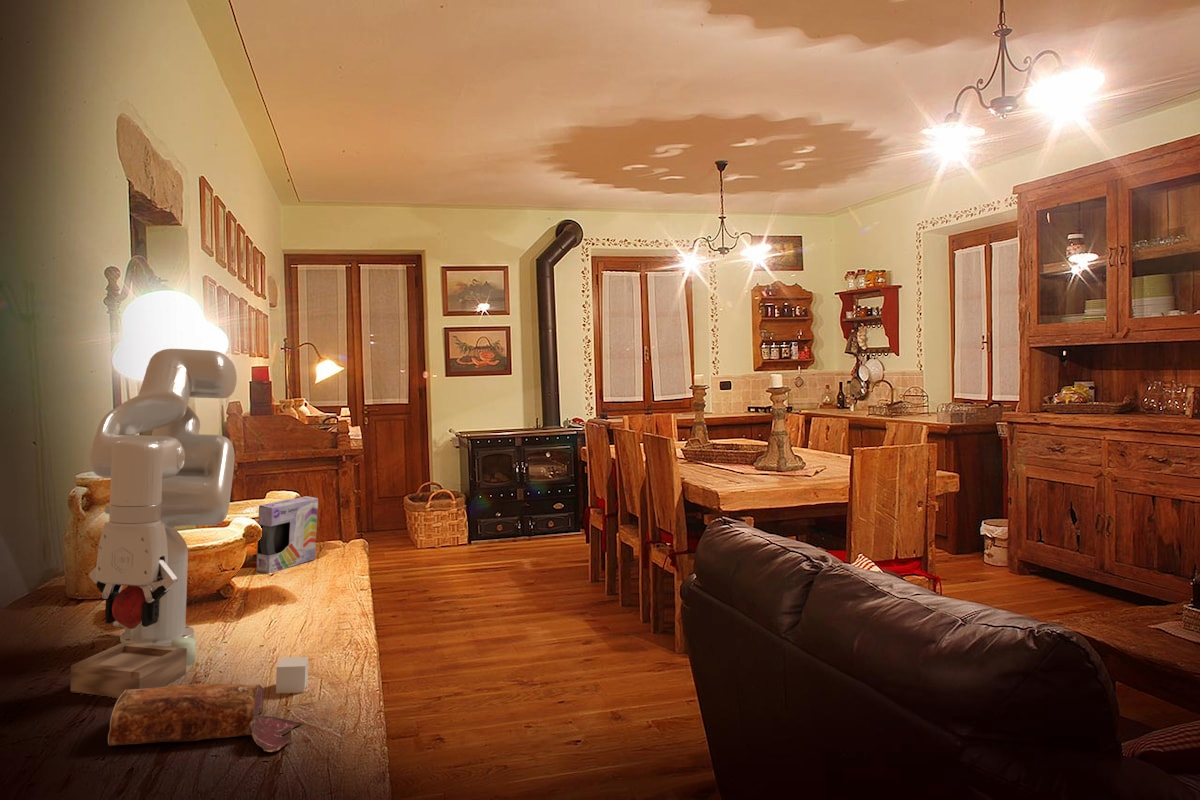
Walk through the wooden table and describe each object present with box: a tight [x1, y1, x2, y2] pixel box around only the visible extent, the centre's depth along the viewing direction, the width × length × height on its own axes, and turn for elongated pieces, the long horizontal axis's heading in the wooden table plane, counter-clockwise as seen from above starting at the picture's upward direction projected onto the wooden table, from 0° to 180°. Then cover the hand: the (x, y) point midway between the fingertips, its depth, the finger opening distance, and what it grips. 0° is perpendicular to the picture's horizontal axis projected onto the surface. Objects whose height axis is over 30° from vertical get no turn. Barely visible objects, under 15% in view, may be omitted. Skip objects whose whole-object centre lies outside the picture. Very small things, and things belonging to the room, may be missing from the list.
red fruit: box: [112, 586, 146, 629], centre depth 139 cm, size 6×6×8 cm
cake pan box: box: [255, 495, 319, 574], centre depth 224 cm, size 19×5×18 cm, turn 159°
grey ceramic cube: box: [275, 656, 310, 694], centre depth 141 cm, size 4×4×4 cm
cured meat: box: [107, 683, 303, 753], centre depth 123 cm, size 18×25×7 cm
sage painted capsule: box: [170, 637, 197, 667], centre depth 150 cm, size 4×4×4 cm
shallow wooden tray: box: [69, 642, 187, 699], centre depth 140 cm, size 12×12×4 cm
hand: (131, 621), depth 139 cm, fingers closed on red fruit, 5 cm apart
